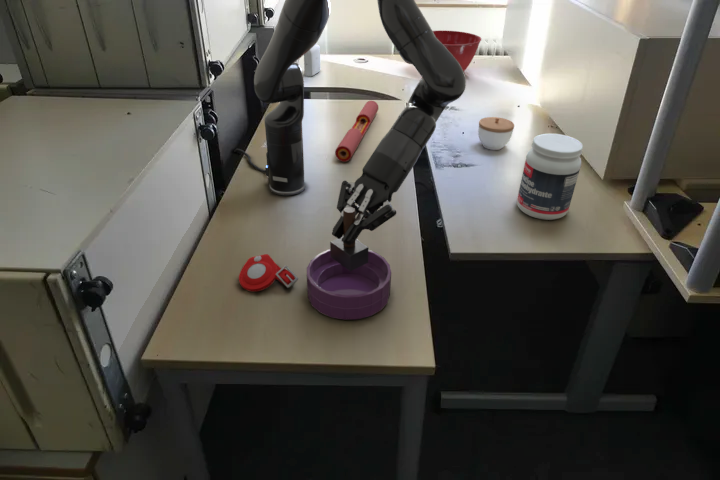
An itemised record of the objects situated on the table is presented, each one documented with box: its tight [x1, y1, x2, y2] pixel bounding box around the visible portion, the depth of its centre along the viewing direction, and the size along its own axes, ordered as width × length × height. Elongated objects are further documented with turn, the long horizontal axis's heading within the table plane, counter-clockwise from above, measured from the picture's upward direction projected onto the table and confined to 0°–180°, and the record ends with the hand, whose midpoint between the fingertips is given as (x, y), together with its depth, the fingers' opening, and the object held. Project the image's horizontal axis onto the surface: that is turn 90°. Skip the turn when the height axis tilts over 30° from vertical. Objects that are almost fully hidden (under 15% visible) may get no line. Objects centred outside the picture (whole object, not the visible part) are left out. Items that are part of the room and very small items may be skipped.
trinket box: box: [477, 116, 515, 151], centre depth 166 cm, size 11×11×9 cm
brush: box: [329, 207, 370, 271], centre depth 98 cm, size 6×4×11 cm
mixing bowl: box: [432, 30, 482, 73], centre depth 233 cm, size 28×28×15 cm
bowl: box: [306, 248, 392, 320], centre depth 104 cm, size 16×16×6 cm
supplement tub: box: [516, 132, 584, 221], centre depth 130 cm, size 13×13×18 cm
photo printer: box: [303, 43, 321, 77], centre depth 228 cm, size 10×4×12 cm, turn 160°
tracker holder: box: [238, 253, 299, 293], centre depth 108 cm, size 12×4×10 cm
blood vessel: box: [334, 100, 379, 163], centre depth 172 cm, size 42×5×5 cm, turn 167°
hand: (340, 239), depth 96 cm, fingers closed on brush, 2 cm apart
